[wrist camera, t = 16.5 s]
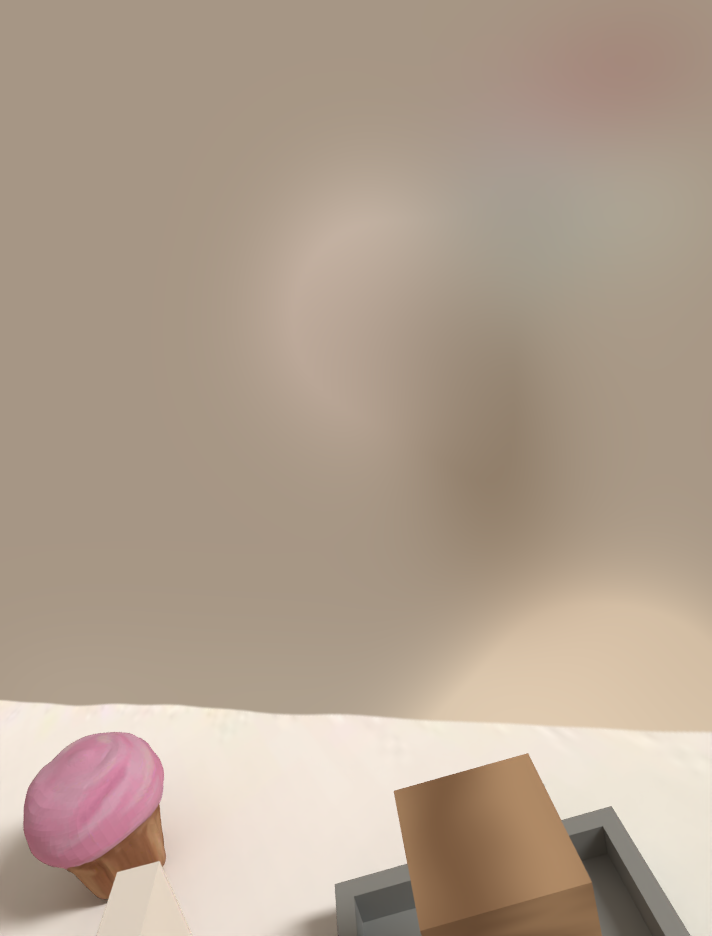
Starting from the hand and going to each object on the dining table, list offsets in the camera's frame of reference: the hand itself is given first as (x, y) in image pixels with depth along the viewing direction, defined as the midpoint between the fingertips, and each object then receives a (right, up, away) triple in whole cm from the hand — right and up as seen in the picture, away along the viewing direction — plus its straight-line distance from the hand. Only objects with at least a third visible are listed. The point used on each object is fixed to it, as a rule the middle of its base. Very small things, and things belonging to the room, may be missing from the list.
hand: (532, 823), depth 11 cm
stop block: (+5, -19, +16) cm, 25 cm away
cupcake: (-19, -22, +31) cm, 42 cm away
